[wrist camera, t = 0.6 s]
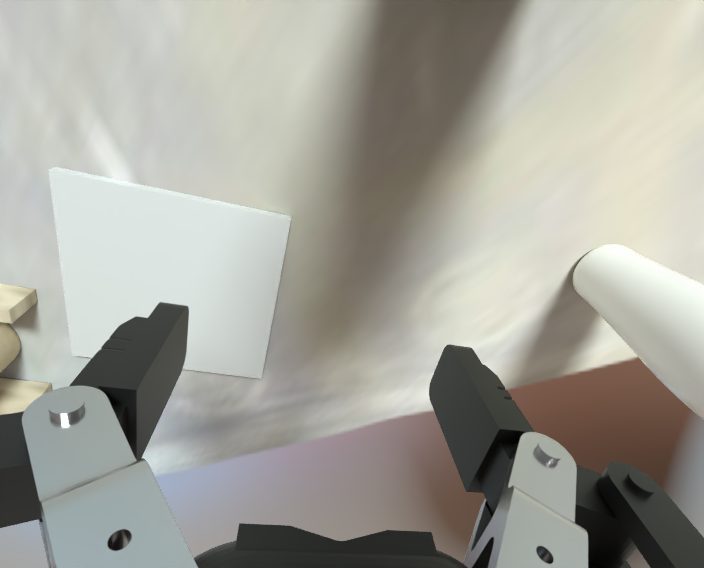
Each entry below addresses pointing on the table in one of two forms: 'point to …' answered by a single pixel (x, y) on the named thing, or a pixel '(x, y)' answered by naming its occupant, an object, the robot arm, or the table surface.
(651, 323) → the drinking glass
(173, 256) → the plate
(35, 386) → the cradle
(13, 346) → the candle
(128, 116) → the table surface
